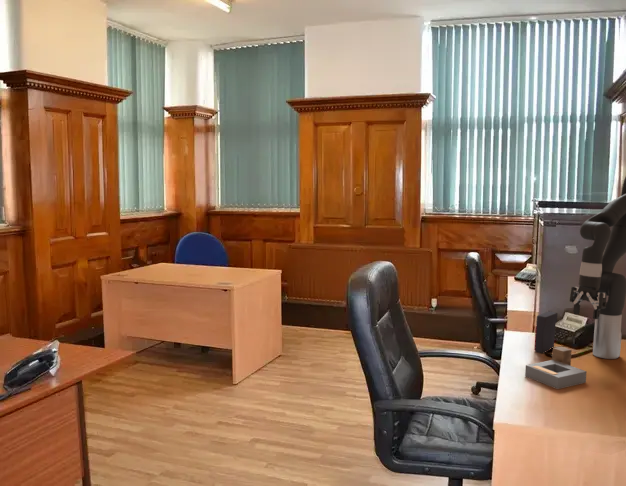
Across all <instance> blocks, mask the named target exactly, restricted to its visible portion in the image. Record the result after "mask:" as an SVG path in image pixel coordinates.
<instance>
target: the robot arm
mask: <svg viewBox="0 0 626 486" xmlns="http://www.w3.org/2000/svg"><path fill="white" fill-rule="evenodd" d="M610 227H611V228H610ZM579 235H580V236H581V238H583V239H584V240H587V241H588V240H589V241H593V243H592V244H591V245H590V246H586V247H584V248H583V249H582V255H581V264H580V267H579V268H580V269H579V277H578V286H571V290H570V295H569V296H570V297H569V302H571V303H573V309H572V310H573V311H572V312H573V314H574V315H579V314H580V310H581V303H582V302H583V301H587V302H588V303H590V304H591V305H592V306H593V308H594V309H593V313H592V318H593V320H594V331H593V332H594V333H593V345H592V355H594V357H597V358H601V359H606V360H607V359H608V360H615V359H618V358H619V357H620V356H621V348H622V347H621V346H622V345H621V344H622V337H623V336H622V335H623V334H622V332H621V330H622V317H623V315H622V314H623V310H624V308H625V304H626V303H625V302H626V277H625V276H624V274H621V273H616V272H614V269H615V266H616V264H617V263H618V262H619V260H620V259H621V258H622V256H624V255H625V254H626V176H625V177H624V180H623V184H622V188H621V193H620V196H618V197H616V198H615V199H613V200H611V201H610V202H609V203H607V204H606V205H605V207H603V208H602V210H601V211H600V212H598V213H596V214H594V215H593V216H591V217H589V218H588V219H586V220H585V221H583V223H582V224H581V226H580V229H579ZM607 296H608V298H607Z"/></svg>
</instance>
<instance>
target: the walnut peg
mask: <svg viewBox="0 0 626 486" xmlns="http://www.w3.org/2000/svg"><path fill="white" fill-rule="evenodd" d="M552 353H553V354H552V355H551V360H556V361H559V362H561V363H564V364H567V365H570V366H572V353H573V352H572V349H570V348H567V347H565V346H556V347H554V348H553V349H552Z"/></svg>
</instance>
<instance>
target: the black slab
mask: <svg viewBox="0 0 626 486" xmlns="http://www.w3.org/2000/svg"><path fill="white" fill-rule="evenodd" d="M557 321H558V312H555V311H546V312H544V313H542V314H541V313H540V314H538V315H537V316H536V324H535V325H536V326H535V333H534V349H533V350H534V352H535V353H538V354H544V353H546V352H548V351H550V350H549V349H550V348H552V347H554V348H555V335H556V323H557ZM547 350H548V351H547ZM545 351H546V352H545Z"/></svg>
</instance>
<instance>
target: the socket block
mask: <svg viewBox="0 0 626 486" xmlns="http://www.w3.org/2000/svg"><path fill="white" fill-rule="evenodd" d="M524 371H525V372H524V373H525V374H524V376H525V377H527V378H529V379H531V380H534V381H537V382H539V383H541V384H544V385H546V386H548V387H552V388H554V389H556V390H559V389H563V388H567V387H572V386H577V385H581V384H586V383H587V370H583V369H581V368H578V367H574V366H572V365H571V366H570V365H567V364H564V363H561V362H559V361H556V360H552V359H550V360H546V361H541V362H536V363H530V364H529V363H528V364H526V365H525V370H524Z"/></svg>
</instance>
